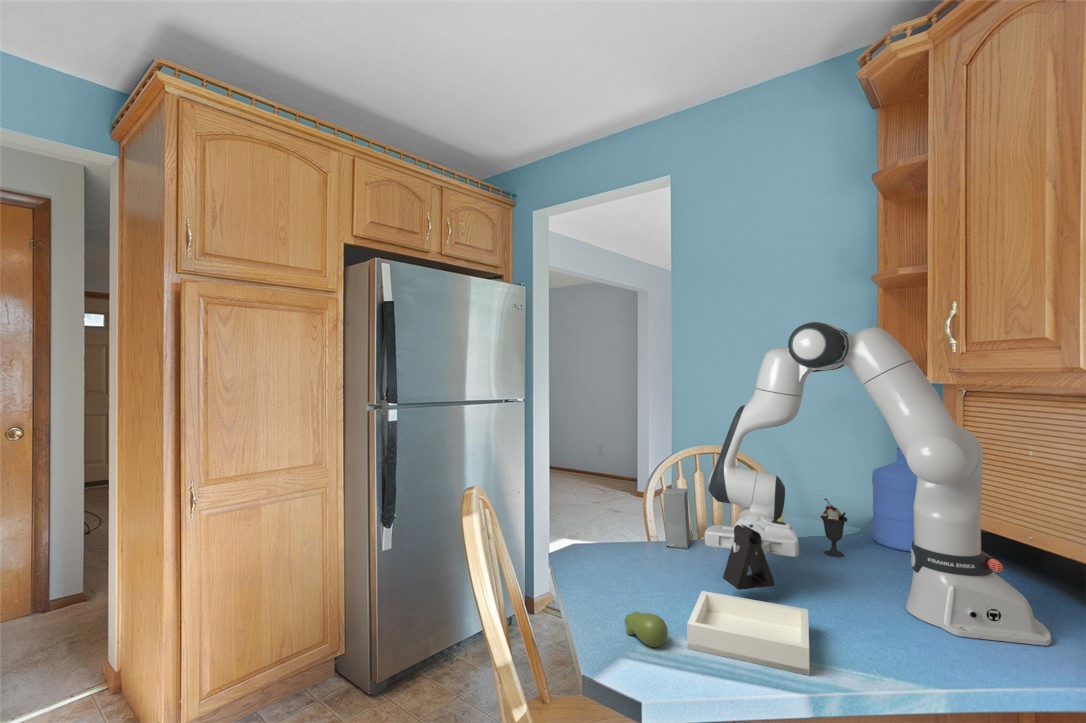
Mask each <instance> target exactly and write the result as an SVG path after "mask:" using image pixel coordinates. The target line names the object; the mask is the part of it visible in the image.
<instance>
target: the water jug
mask: <svg viewBox="0 0 1086 723" xmlns="http://www.w3.org/2000/svg"><path fill="white" fill-rule="evenodd" d="M871 484H872V518H873V520H872V525H873V527H872V528H873V529H872V538H873V541H875V543H877V544H879V545H881V546H883V547H887V548H889V549H892V550H896V549H897V550H896V551H901V550H902V552H907V551H909V552H908V553H911V548H912V542H913V541H914V500H915V494H916V485H917V476H916V475H915V474H914V473H913V472H912V471H911V469H910V468H909V466H908V463H907V460H906V458H905V456H904V455H903V453H902V451H901V449H900V447H896V461H894V462H892V463H890V464H885V465H883V466H880V467H876V468H874V469H873V470H872V476H871Z"/></svg>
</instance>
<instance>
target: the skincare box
mask: <svg viewBox="0 0 1086 723" xmlns="http://www.w3.org/2000/svg"><path fill="white" fill-rule="evenodd" d="M663 490H664V491H663V493H662V499H663V503H662V504H663V519H664V520H663V521H664V535H665V536H664V538H665V547H667V546H669V548H670V547H671V548H677V549H685V548H686V549H685V550H688V548H689V546H690V543H691V536H690V535H691V534H690V518H689V499H688V498H689V497H688V488H678V487H677V488H676V487H675V488H674V487H673V488H672V487H666V489H663Z"/></svg>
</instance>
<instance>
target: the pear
mask: <svg viewBox="0 0 1086 723" xmlns="http://www.w3.org/2000/svg"><path fill="white" fill-rule="evenodd" d="M624 625H625V633H626V634H627V635H628V636H631V635H636V637H638V639H639V640H640V641H641V642H642V643H643V644H645V645H646V646H648V647H651V648H657V647H661V646H662V645H664V643H666V641H667V639H668V635H669V630H668V626H667V623H666V622H665V621H664V620H663V618H662V617H660V616H659V615H656V614H653V613H648V612H643V613H642V612H639V611H638V612H637V611H634V612H632V613H629V614H627V615H626V616H625V618H624Z"/></svg>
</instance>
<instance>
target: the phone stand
mask: <svg viewBox="0 0 1086 723" xmlns="http://www.w3.org/2000/svg"><path fill="white" fill-rule="evenodd" d="M734 526H735V525H734ZM742 526H743V527H742ZM734 542H735V543H736V544H738V545H740V548H739V550H738V552H737V553H734V552H733V545H732V548H731V549H730V551H729V555H728V559H727V563H726V564H725V565H726V566H725V570H724V572H723V576H722V578H723V580H724V581H726V582H727V583H729V584H730V585H731V586H733V587H734V589H737V590H738V591H739V590H740V591H741V590H748V589H751V590H752V589H759V588H761V589H762V588H770V587H775V586H776V582H775V579H774V577H773V575H772V571H771V569H770V566H769V564H768V561H767V558H766V556H765V555H766V554H764V552H763V549H762V547H761V535H760V534H759V533H758V532H756V531H754V530H752V529H750V528H748V527H746V526H744V525H742V524H741V526H740V525H736V526H735V528H734ZM756 552H757V555H756ZM749 569H750V571H751V574H748V573H749Z"/></svg>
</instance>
